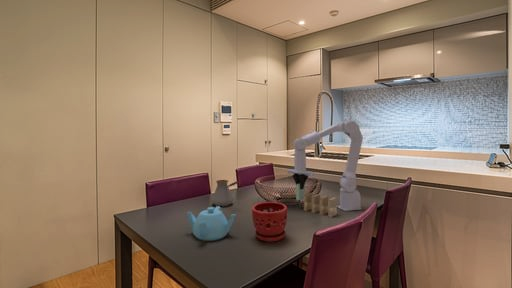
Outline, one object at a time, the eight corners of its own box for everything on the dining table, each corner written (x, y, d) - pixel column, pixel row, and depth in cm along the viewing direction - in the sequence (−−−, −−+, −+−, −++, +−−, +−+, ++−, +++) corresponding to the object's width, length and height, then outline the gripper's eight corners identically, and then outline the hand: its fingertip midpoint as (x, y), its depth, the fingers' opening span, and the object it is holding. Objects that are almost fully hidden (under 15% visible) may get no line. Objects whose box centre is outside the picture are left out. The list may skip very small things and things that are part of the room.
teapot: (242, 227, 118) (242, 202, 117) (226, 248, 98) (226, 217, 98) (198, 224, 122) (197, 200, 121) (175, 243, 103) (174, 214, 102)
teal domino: (296, 199, 143) (296, 184, 143) (301, 198, 147) (302, 183, 146) (298, 200, 142) (299, 184, 142) (304, 198, 146) (304, 183, 145)
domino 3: (319, 214, 134) (319, 197, 133) (325, 211, 137) (325, 195, 137) (322, 215, 133) (322, 198, 132) (328, 212, 136) (328, 196, 136)
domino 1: (303, 210, 140) (303, 194, 139) (309, 208, 144) (309, 192, 143) (306, 211, 139) (306, 195, 138) (312, 208, 142) (312, 193, 142)
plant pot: (254, 230, 114) (254, 201, 114) (287, 231, 113) (286, 201, 112) (250, 243, 101) (250, 211, 101) (287, 245, 100) (287, 211, 99)
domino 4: (328, 216, 131) (328, 199, 130) (333, 213, 134) (333, 197, 134) (331, 217, 130) (331, 200, 129) (336, 214, 133) (336, 197, 133)
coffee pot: (207, 204, 153) (207, 176, 152) (225, 200, 160) (225, 174, 159) (230, 213, 136) (229, 182, 135) (248, 209, 144) (248, 179, 143)
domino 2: (311, 212, 137) (311, 196, 136) (317, 210, 140) (317, 194, 140) (314, 213, 136) (314, 196, 135) (320, 210, 139) (320, 194, 139)
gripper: (283, 161, 145) (284, 187, 146) (307, 164, 135) (307, 192, 136) (292, 160, 150) (292, 185, 151) (315, 162, 140) (315, 189, 141)
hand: (300, 188), depth 144 cm, fingers closed on teal domino, 1 cm apart
